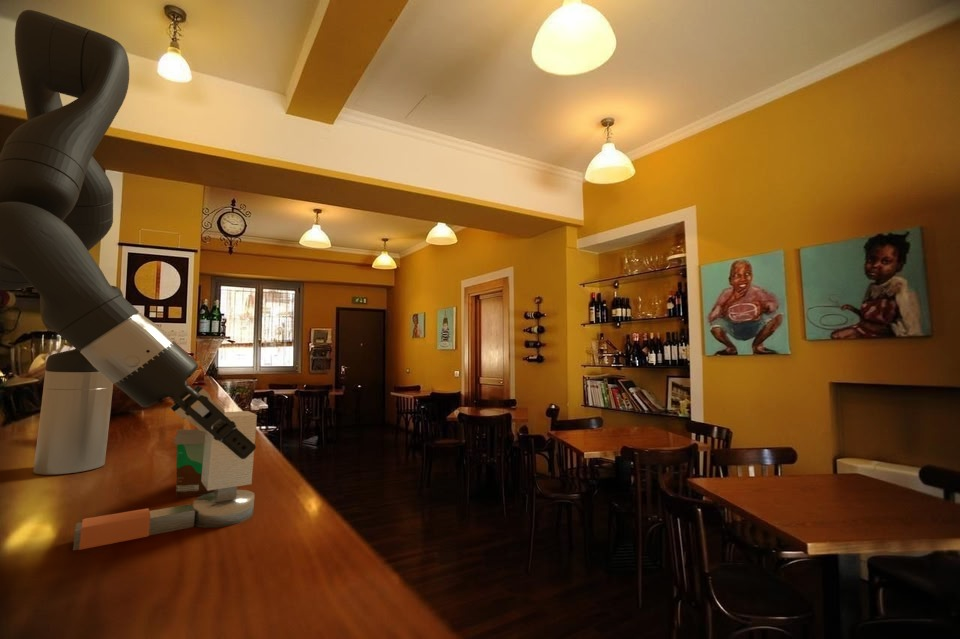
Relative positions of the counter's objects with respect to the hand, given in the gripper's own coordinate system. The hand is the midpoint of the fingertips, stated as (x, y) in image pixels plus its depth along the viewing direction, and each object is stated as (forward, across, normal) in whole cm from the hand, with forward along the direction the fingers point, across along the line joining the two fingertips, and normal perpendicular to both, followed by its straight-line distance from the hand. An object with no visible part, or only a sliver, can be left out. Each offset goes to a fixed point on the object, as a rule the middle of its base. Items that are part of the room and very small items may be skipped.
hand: (244, 449), depth 59 cm
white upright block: (+2, 0, +4) cm, 5 cm away
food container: (+6, +14, +6) cm, 17 cm away
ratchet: (+1, 0, +11) cm, 11 cm away
